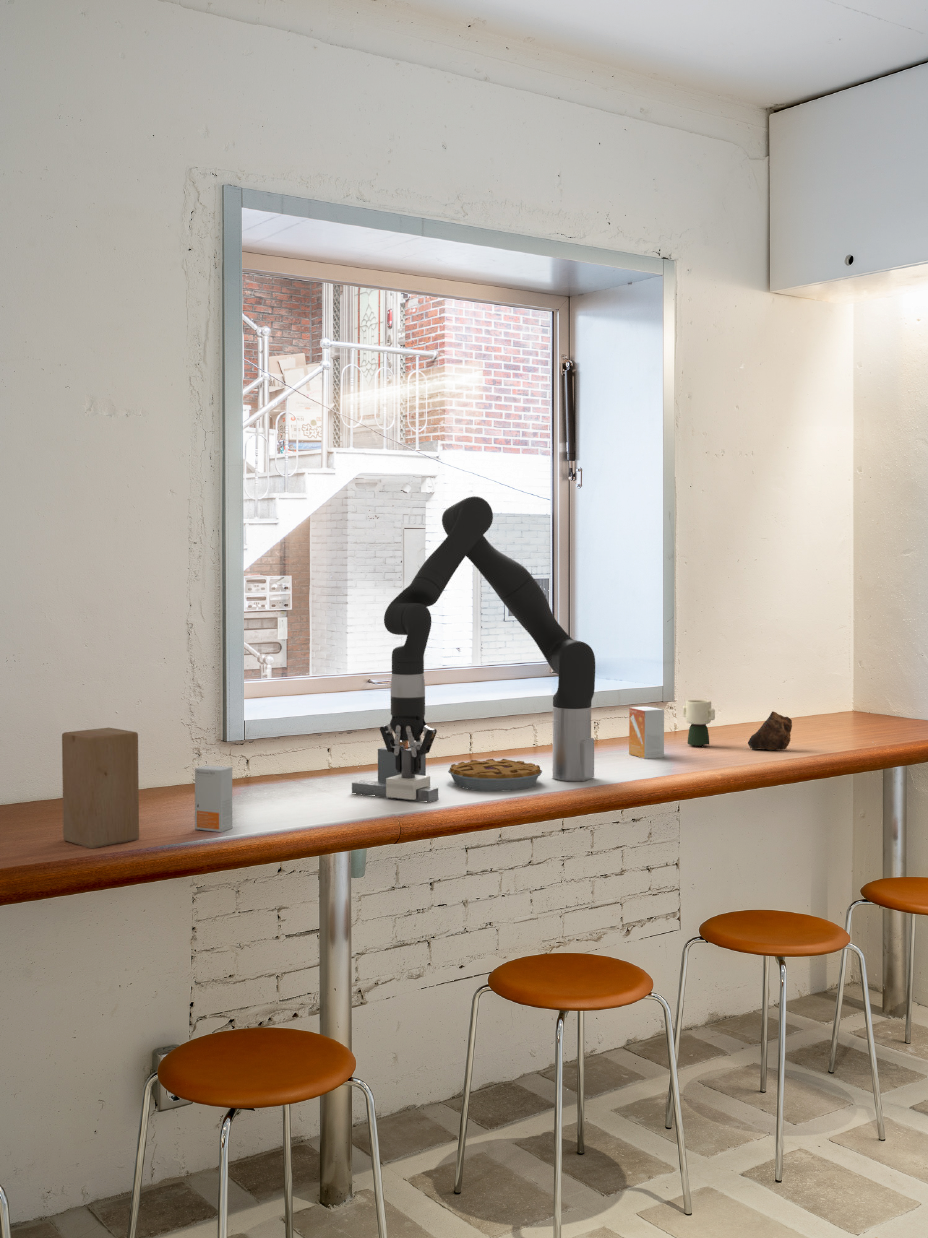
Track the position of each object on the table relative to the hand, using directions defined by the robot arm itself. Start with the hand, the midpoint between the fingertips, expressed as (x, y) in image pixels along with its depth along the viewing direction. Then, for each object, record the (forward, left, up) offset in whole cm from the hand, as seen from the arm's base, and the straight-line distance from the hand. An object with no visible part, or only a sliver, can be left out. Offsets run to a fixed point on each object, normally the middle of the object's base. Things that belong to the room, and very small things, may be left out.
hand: (408, 772), depth 247 cm
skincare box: (+17, +44, -6) cm, 47 cm away
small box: (-25, -81, -6) cm, 85 cm away
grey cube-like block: (+9, -11, -6) cm, 15 cm away
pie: (-8, -25, -6) cm, 27 cm away
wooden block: (+29, +61, -6) cm, 68 cm away
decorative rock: (-52, -108, -6) cm, 120 cm away
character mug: (-32, -105, -6) cm, 110 cm away
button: (+9, -11, +2) cm, 14 cm away
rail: (+4, 0, -6) cm, 7 cm away
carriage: (0, 0, -6) cm, 6 cm away
